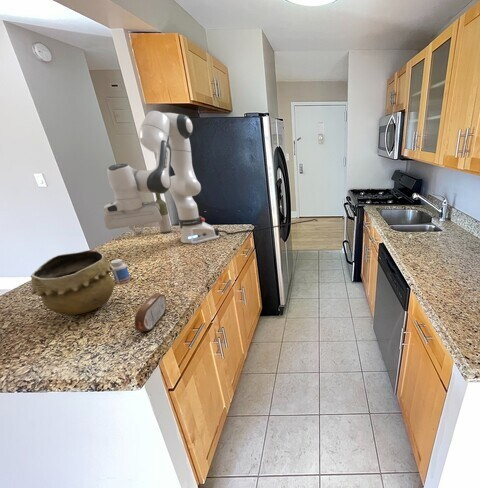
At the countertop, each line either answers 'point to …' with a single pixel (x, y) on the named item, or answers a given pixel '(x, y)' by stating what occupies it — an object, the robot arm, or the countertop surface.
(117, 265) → the pill bottle
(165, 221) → the bottle
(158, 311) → the brown oval clock
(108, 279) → the clay pot
